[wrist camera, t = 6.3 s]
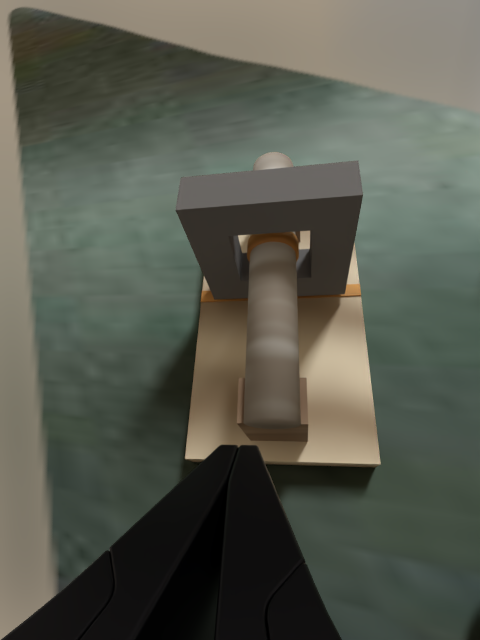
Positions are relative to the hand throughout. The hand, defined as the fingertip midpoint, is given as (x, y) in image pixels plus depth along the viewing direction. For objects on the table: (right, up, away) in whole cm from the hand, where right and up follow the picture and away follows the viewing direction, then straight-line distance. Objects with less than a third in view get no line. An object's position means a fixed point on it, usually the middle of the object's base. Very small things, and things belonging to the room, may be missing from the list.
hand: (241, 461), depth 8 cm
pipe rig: (+3, +3, +16) cm, 16 cm away
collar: (+2, +5, +15) cm, 16 cm away
